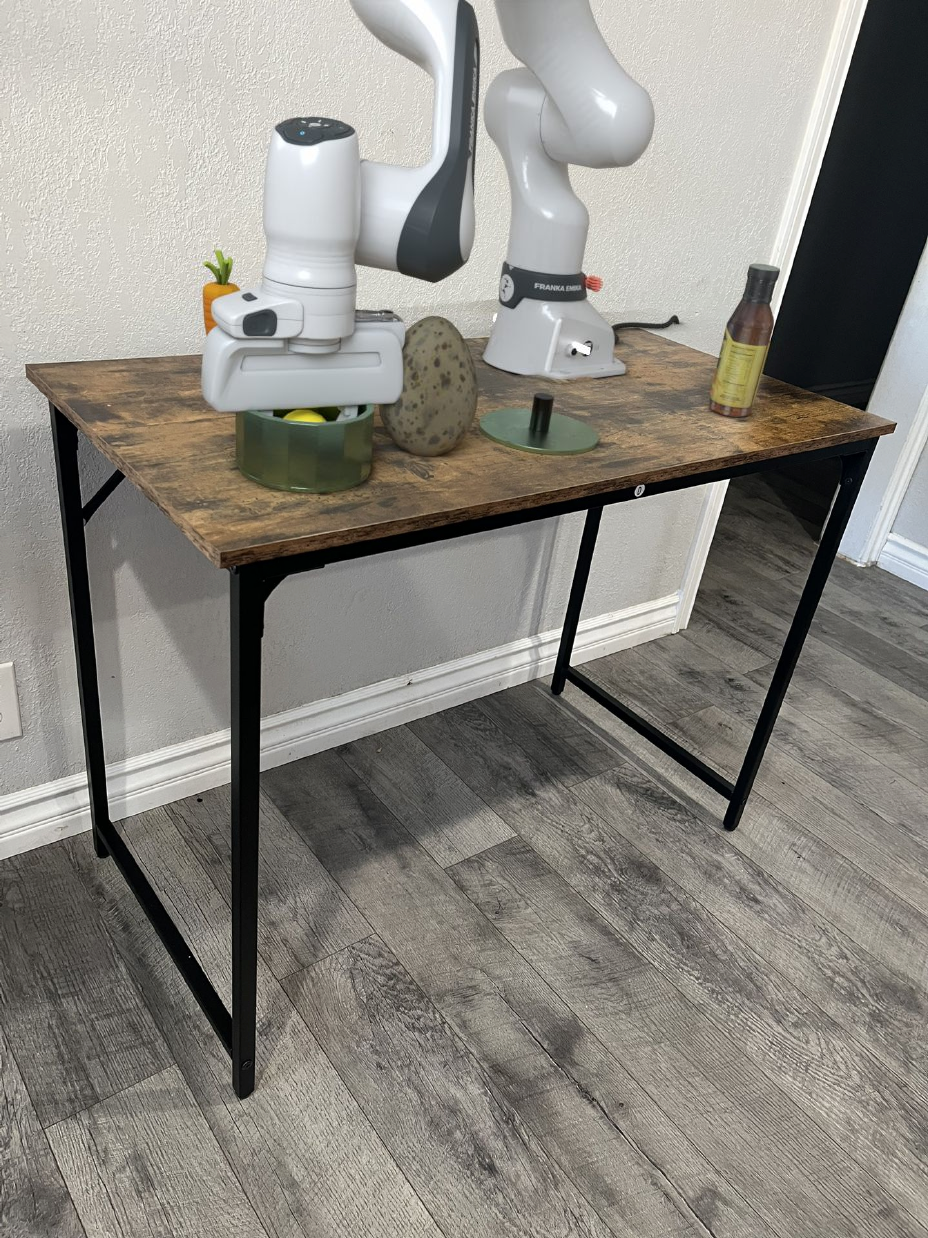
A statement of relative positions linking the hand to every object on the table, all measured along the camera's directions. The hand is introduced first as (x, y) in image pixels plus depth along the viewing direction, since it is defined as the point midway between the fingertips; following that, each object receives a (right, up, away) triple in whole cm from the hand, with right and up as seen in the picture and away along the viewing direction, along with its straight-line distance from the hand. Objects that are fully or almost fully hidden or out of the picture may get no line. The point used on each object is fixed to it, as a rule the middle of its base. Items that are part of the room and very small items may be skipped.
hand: (304, 447), depth 97 cm
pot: (0, -2, +1) cm, 2 cm away
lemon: (0, -2, +1) cm, 2 cm away
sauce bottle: (+54, +12, +37) cm, 66 cm away
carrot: (-15, +14, +25) cm, 32 cm away
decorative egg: (+12, +1, +8) cm, 15 cm away
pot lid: (+25, +5, +17) cm, 31 cm away
